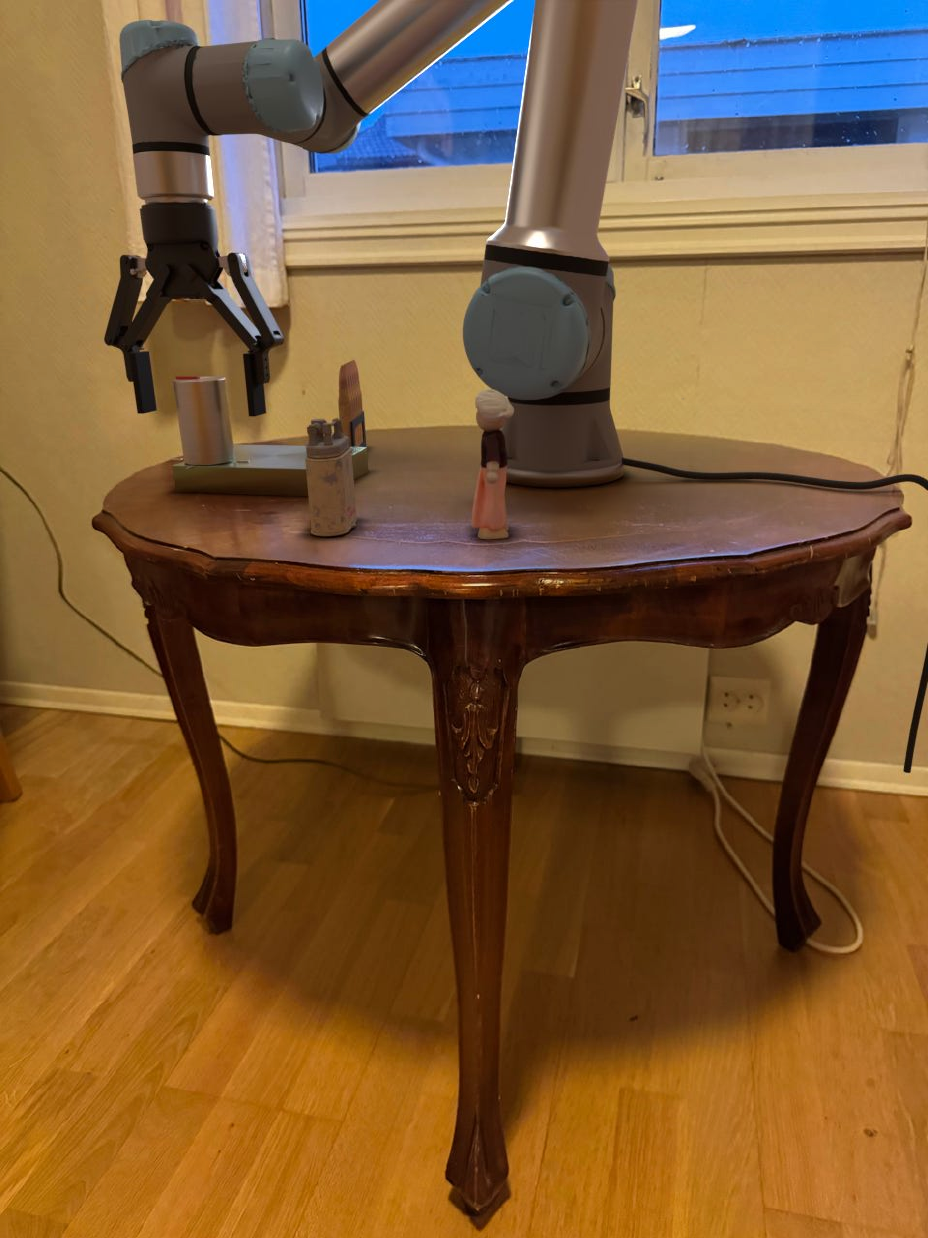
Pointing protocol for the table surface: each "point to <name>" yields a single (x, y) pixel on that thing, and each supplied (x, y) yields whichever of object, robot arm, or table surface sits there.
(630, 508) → the table surface
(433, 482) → the table surface
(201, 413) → the grey metal cylinder
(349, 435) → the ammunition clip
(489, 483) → the grandmother figurine
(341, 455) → the lighter
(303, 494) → the panel
